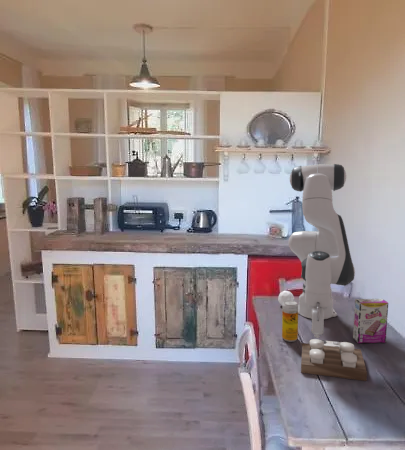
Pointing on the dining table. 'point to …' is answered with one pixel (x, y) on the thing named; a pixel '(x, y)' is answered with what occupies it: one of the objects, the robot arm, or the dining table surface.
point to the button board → (333, 364)
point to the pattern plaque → (331, 343)
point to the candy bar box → (370, 320)
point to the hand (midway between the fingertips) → (316, 336)
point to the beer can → (290, 321)
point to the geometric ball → (285, 297)
